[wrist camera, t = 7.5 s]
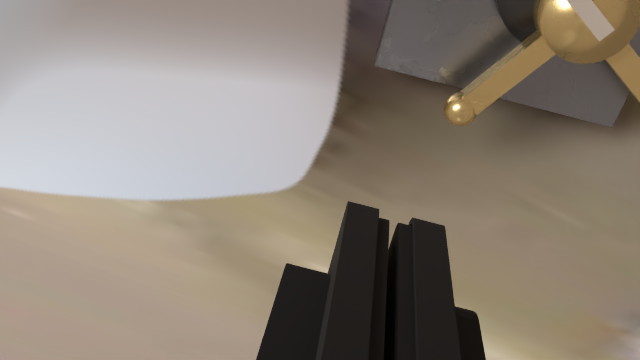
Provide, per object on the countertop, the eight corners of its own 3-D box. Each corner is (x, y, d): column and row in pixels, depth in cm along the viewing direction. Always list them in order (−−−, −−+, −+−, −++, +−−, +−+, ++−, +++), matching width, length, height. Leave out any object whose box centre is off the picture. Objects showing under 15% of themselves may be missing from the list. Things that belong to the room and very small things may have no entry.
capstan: (821, 9, 29) (876, 28, 26) (533, 200, 36) (546, 235, 33) (631, -285, 25) (667, -309, 22) (344, -4, 32) (337, 11, 28)
